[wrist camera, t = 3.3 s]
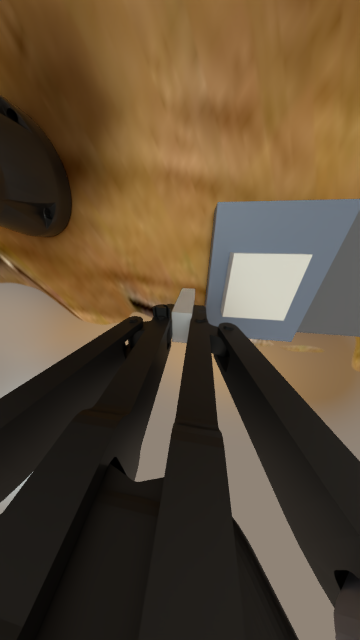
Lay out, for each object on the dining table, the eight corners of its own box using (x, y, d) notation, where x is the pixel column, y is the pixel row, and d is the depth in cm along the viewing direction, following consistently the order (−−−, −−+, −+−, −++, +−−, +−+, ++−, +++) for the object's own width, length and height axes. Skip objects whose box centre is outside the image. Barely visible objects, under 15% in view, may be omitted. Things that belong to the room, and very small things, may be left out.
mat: (281, 329, 28) (282, 331, 28) (336, 207, 18) (339, 206, 18) (359, 335, 27) (361, 336, 26) (465, 204, 17) (471, 204, 17)
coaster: (220, 310, 24) (222, 316, 21) (230, 252, 19) (234, 253, 17) (275, 313, 23) (283, 320, 20) (299, 253, 18) (312, 254, 16)
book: (202, 324, 30) (203, 334, 26) (214, 209, 20) (217, 202, 17) (279, 329, 28) (291, 341, 25) (334, 207, 18) (365, 198, 15)
